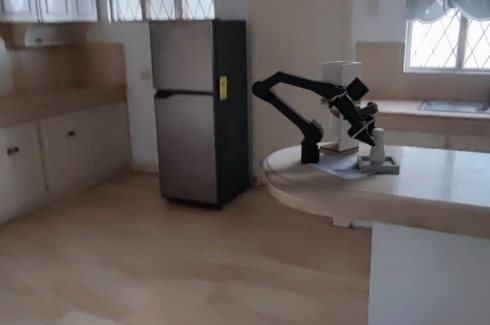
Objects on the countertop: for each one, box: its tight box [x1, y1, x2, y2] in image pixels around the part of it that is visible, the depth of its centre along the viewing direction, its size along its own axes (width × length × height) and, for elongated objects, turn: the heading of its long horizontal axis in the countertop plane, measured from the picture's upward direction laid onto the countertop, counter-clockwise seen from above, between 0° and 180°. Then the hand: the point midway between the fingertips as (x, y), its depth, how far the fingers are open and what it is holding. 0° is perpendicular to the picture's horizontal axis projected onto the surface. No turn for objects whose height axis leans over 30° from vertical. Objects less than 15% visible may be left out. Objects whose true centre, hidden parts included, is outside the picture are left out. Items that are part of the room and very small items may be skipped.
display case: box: [319, 60, 364, 157], centre depth 199 cm, size 11×11×35 cm
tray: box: [356, 155, 401, 174], centre depth 181 cm, size 13×13×2 cm
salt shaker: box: [368, 127, 386, 165], centre depth 179 cm, size 6×6×13 cm
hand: (377, 143), depth 179 cm, fingers open, 9 cm apart
